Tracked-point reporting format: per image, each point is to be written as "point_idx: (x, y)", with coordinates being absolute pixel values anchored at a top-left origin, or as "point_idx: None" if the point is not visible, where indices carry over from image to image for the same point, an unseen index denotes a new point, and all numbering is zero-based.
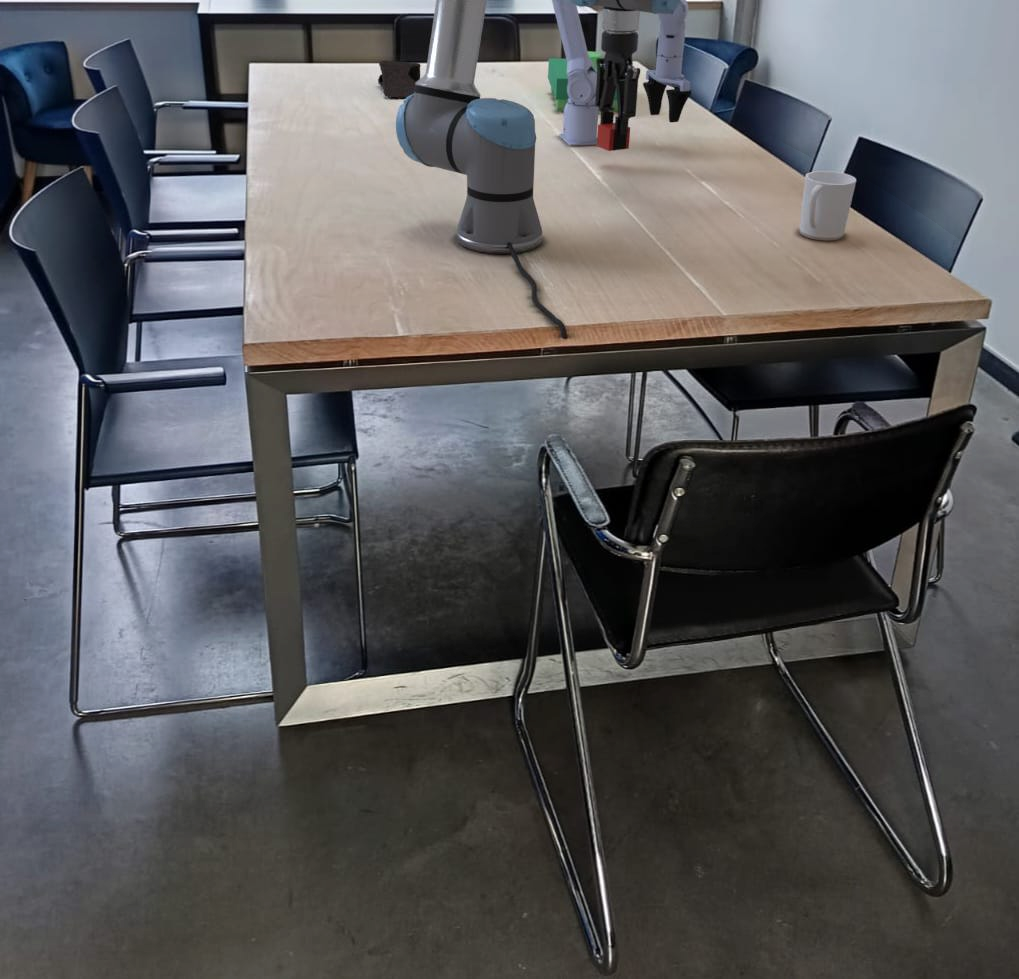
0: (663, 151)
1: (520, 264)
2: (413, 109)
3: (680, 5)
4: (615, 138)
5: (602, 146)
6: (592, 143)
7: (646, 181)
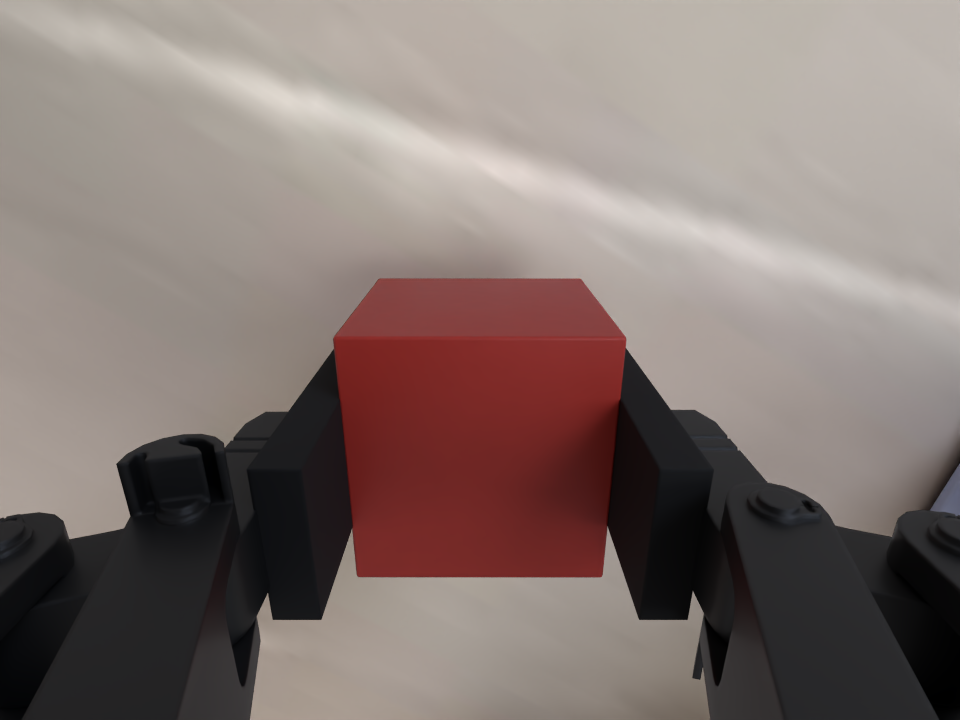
0: (621, 709)
1: None
2: None
3: None
4: (334, 362)
5: (485, 282)
6: (958, 477)
7: (105, 349)
